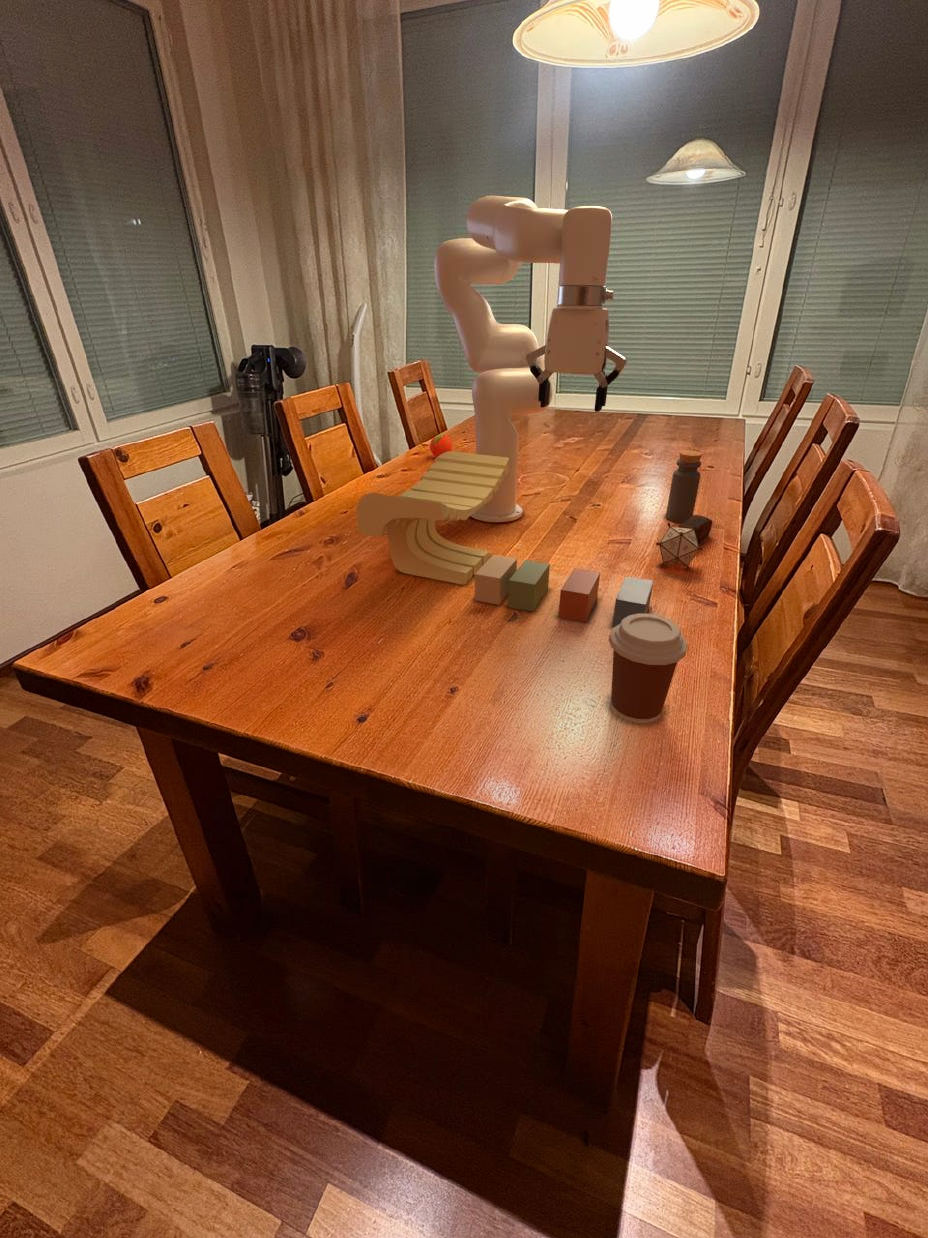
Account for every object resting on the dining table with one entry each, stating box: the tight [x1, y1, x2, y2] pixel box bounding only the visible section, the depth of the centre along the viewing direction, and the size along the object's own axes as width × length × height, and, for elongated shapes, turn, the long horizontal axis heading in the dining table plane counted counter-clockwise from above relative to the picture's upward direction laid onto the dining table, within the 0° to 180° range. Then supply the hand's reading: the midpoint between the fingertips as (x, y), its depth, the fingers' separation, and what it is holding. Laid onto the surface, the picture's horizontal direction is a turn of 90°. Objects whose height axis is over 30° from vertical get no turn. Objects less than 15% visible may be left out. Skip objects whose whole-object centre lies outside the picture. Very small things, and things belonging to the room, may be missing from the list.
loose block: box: [558, 567, 601, 623], centre depth 100 cm, size 4×9×5 cm, turn 157°
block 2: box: [507, 559, 551, 612], centre depth 103 cm, size 4×9×5 cm, turn 157°
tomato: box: [429, 434, 453, 458], centre depth 184 cm, size 8×7×7 cm
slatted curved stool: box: [355, 450, 509, 586], centre depth 112 cm, size 30×16×18 cm, turn 156°
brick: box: [677, 514, 713, 545], centre depth 126 cm, size 11×4×5 cm, turn 141°
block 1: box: [474, 554, 518, 606], centre depth 105 cm, size 4×9×5 cm, turn 157°
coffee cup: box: [608, 613, 688, 724], centre depth 75 cm, size 9×9×12 cm
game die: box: [655, 522, 704, 571], centre depth 114 cm, size 9×8×10 cm
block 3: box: [611, 575, 654, 628], centre depth 97 cm, size 4×9×5 cm, turn 157°
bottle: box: [665, 450, 703, 523], centre depth 136 cm, size 6×6×15 cm
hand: (570, 408), depth 106 cm, fingers open, 9 cm apart
